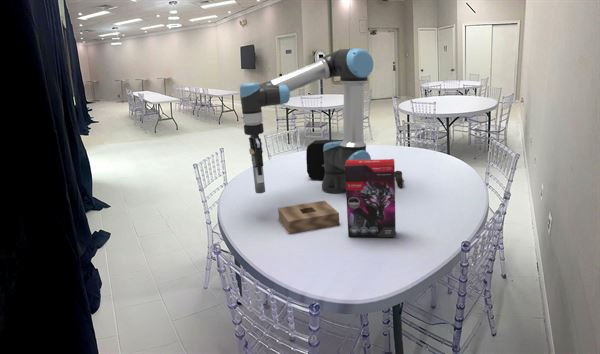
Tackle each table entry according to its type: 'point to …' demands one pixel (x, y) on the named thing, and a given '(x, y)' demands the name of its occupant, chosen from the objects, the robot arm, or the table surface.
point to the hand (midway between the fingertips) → (259, 180)
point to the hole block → (308, 216)
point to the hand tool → (399, 178)
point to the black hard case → (316, 159)
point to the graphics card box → (370, 198)
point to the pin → (258, 186)
